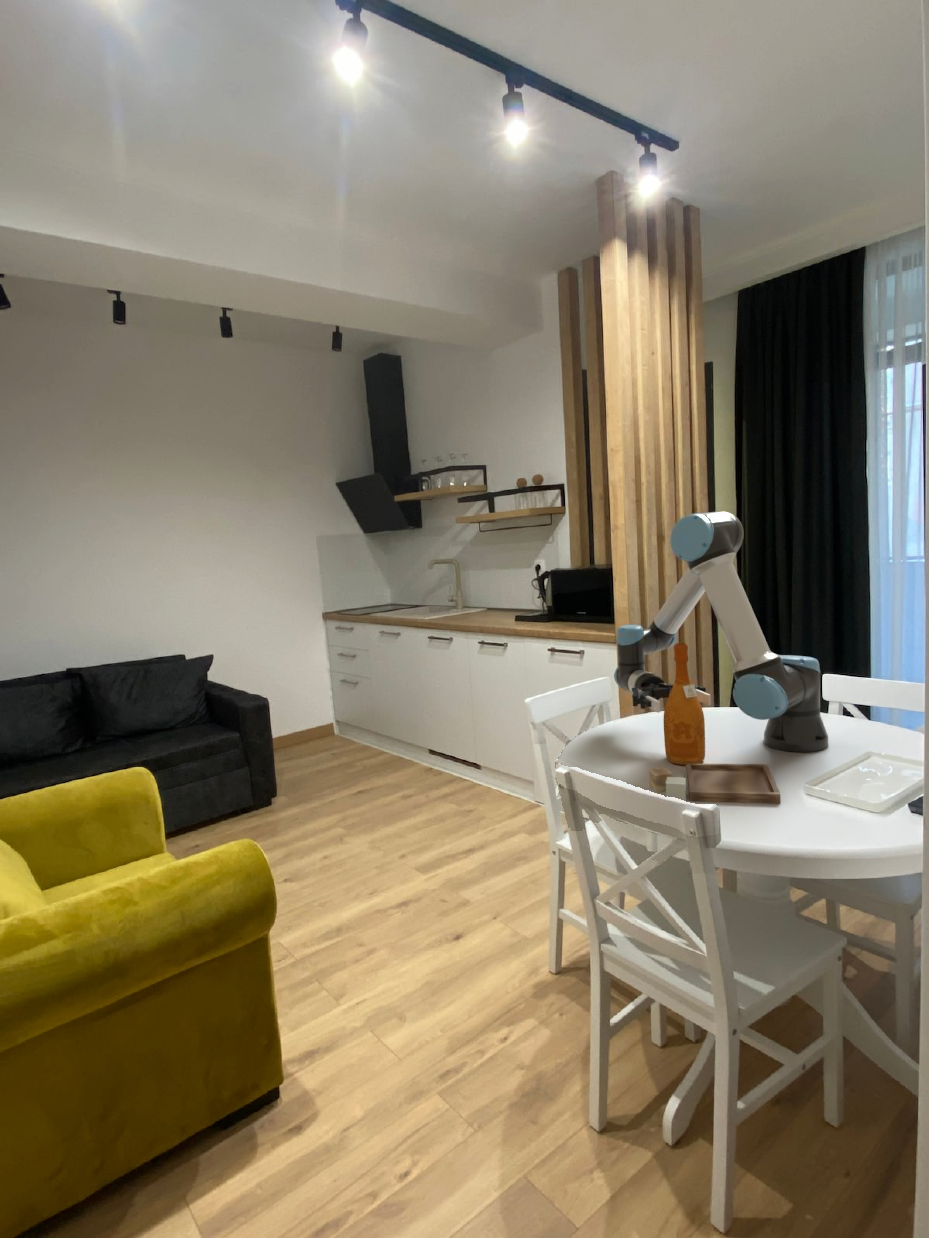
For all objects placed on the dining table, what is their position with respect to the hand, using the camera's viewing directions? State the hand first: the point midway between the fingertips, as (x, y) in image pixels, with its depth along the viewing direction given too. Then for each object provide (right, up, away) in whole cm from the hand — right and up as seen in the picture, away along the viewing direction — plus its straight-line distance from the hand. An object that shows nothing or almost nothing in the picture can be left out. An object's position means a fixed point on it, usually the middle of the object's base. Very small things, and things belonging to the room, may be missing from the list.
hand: (684, 703), depth 171 cm
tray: (+5, -17, -15) cm, 23 cm away
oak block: (-9, -18, -13) cm, 24 cm away
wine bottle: (+1, -15, +3) cm, 15 cm away
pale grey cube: (-8, -18, -19) cm, 28 cm away
